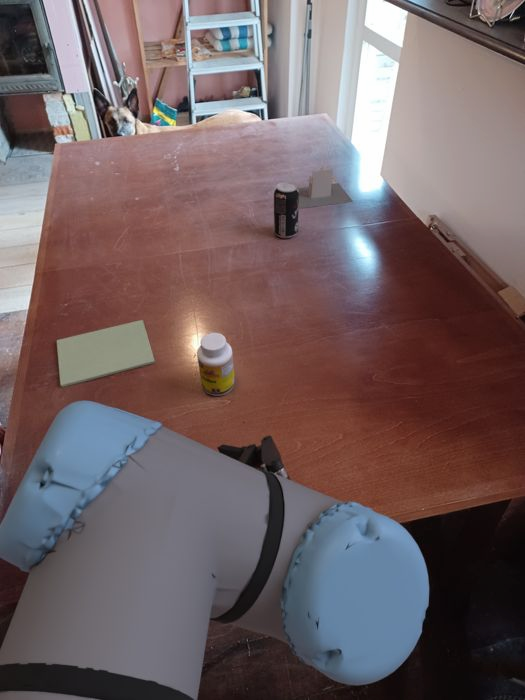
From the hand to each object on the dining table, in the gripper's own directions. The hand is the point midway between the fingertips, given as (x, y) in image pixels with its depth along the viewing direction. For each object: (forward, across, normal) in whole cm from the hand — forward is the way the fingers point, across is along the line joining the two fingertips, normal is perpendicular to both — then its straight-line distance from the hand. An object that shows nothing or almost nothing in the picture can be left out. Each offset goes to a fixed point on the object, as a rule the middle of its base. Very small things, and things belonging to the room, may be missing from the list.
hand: (174, 487), depth 54 cm
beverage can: (+43, +57, +27) cm, 77 cm away
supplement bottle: (+22, +17, +5) cm, 28 cm away
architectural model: (+50, +76, +34) cm, 98 cm away
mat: (+35, +5, +19) cm, 40 cm away
